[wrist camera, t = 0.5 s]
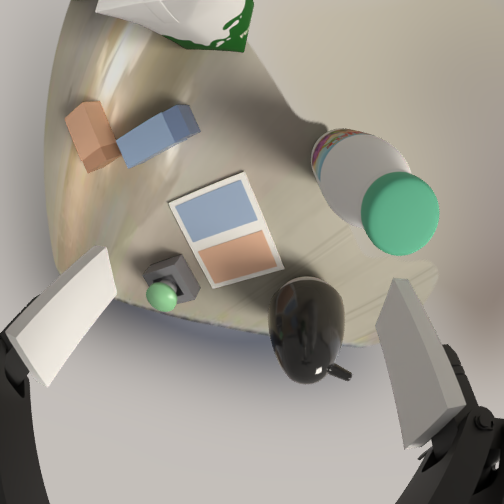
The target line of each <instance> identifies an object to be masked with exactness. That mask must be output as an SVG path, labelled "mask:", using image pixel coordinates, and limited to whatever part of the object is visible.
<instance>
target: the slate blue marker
mask: <svg viewBox="0 0 504 504" xmlns="http://www.w3.org/2000/svg"><path fill="white" fill-rule="evenodd" d="M200 132H201V131H200V129H199V127H198V124H197V122H196V120H195V118H194V115H193V113H192V111H191V109H190V107H189V105H175V106H173V107H172V108H170V109H168V110H166V111H164V112H161V113H159V114H157V115H155V116H154V117H152V118H150V119H149V120H147V121H145V122H144V123H142V124H140V125H139V126H137V127H136V128H134V129H133V130H131V131H129V132H128V133H126V134H125V135H123V136H122V137H120V138H119V139H117V140H116V143H117V145H118V147H119V149H120V152H121V154H122V156H123V158H124V160H125V163H126V165H127V167H128V169H129V168H131V167H134V166H136V165H139V164H141V163H144V162H145V161H147V160H149V159H151V158H153V157H154V156H156V155H158V154H160V153H162V152H164V151H166V150H167V149H169V148H171V147H173V146H175V145H177V144H179V143H181V142H183V141H185V140H187V138H189V137H191V136H193V135H196V134H198V133H200Z"/></svg>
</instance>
